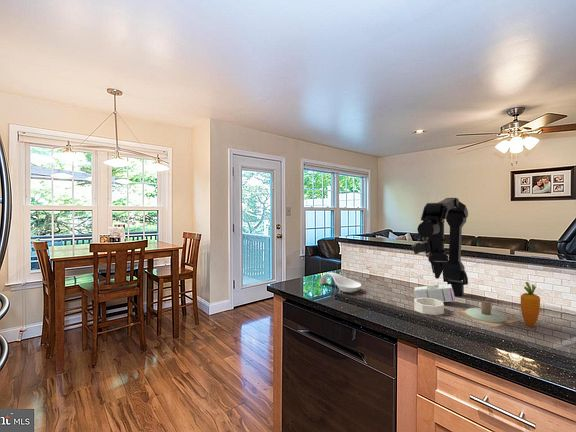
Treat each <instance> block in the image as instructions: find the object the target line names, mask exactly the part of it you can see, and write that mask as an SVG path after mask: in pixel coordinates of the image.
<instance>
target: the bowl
mask: <svg viewBox="0 0 576 432" xmlns="http://www.w3.org/2000/svg"><path fill="white" fill-rule="evenodd" d="M413 300H414V301H413V302H414V303H413V308H414V309H413V310H414V311H416V312H418V313H420V314H424V315H433V316H437V315H443V314H445V304H444V302H442V301H439V300H437V299H433V298H416V299H415V298H414V299H413Z"/></svg>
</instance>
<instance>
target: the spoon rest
mask: <svg viewBox="0 0 576 432" xmlns="http://www.w3.org/2000/svg"><path fill="white" fill-rule="evenodd" d="M329 276H330V277H332V279H333V281H334V283H335V285H336V286H337V288H338V289H339V290H340V291H341V292H343V293H347V294H352V293H354V292H358V291H359V290H360V289H361V288H362V286H363V285H362V284H361V282H358V281H356V280H353V279H350V278H348V277H345V276H344V275H341V274H339V273H336V272H328V273H327V272H326V273H324V274H322V276H321V277H320V279H319V285H322V286H323V285H326V284H327V278H328V277H329Z"/></svg>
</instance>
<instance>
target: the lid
mask: <svg viewBox="0 0 576 432" xmlns="http://www.w3.org/2000/svg"><path fill="white" fill-rule="evenodd" d="M480 304H481V305H480V307H481V308H480V307H469V308H467V309H466V314H467V315H468V316H469V317H471V318H473V319H476V320H479V321H484V322H490V323H503V322H506V321H507V316H508V315H507V314H505V313H503V312H501V311H498V310H495V309H492V302H490V301H485V300H482V301H481V303H480Z"/></svg>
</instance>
